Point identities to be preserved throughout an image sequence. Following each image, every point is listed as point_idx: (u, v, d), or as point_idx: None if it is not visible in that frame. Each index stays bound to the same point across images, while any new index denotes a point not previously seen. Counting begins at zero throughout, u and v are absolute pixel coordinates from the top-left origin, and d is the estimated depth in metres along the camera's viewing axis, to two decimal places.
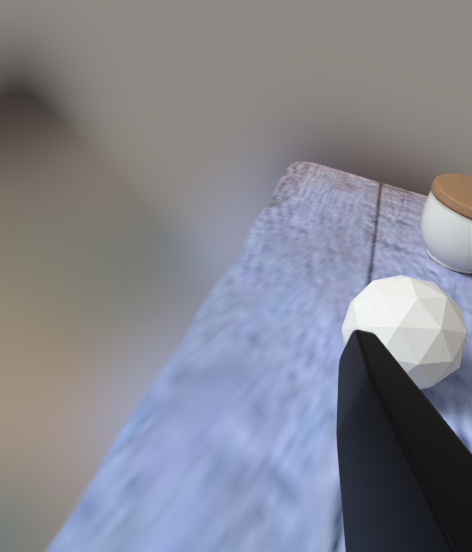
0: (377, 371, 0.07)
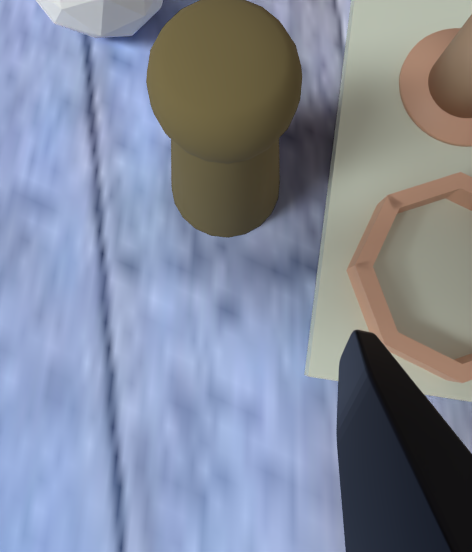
0: (377, 371, 0.07)
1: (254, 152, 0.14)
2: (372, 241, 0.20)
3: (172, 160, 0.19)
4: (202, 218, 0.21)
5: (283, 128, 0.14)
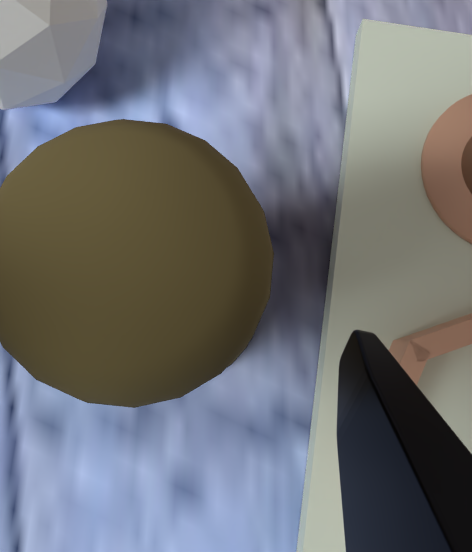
0: (377, 371, 0.07)
1: None
2: None
3: None
4: None
5: (239, 352, 0.07)
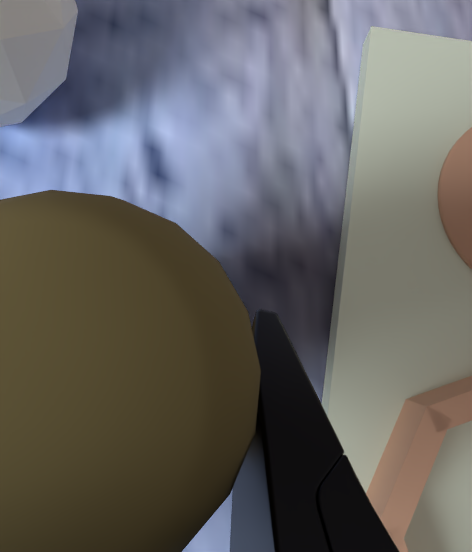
0: (263, 348, 0.07)
1: None
2: (402, 492, 0.12)
3: None
4: None
5: None
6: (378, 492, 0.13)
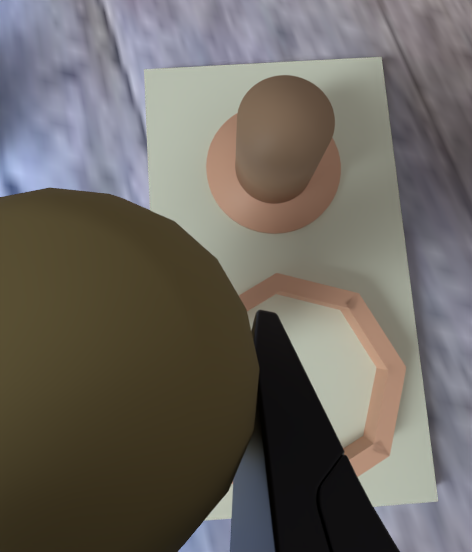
0: (263, 348, 0.07)
1: None
2: None
3: None
4: None
5: None
6: None
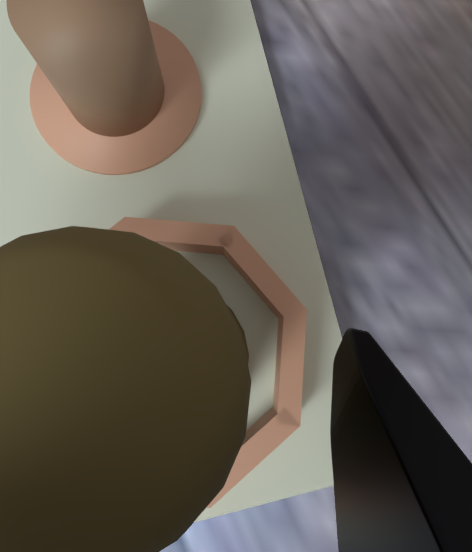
0: (370, 370, 0.07)
1: None
2: None
3: None
4: None
5: (208, 503, 0.06)
6: None
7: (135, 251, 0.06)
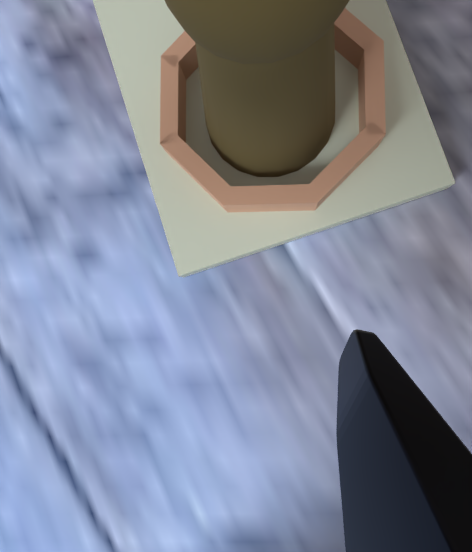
0: (377, 371, 0.07)
1: (307, 37, 0.10)
2: (166, 110, 0.18)
3: (201, 84, 0.16)
4: (245, 155, 0.18)
5: None
6: None
7: None
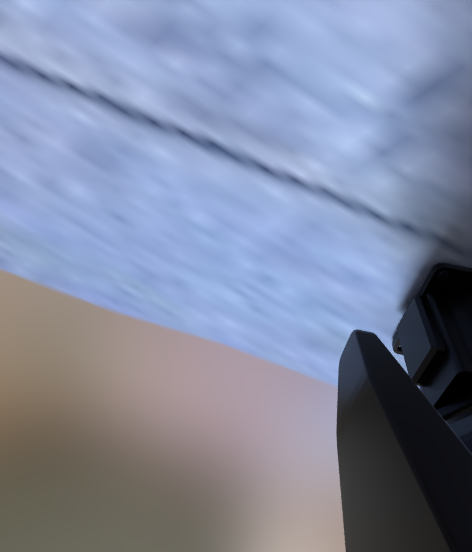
0: (377, 371, 0.07)
1: None
2: None
3: None
4: None
5: None
6: None
7: None
